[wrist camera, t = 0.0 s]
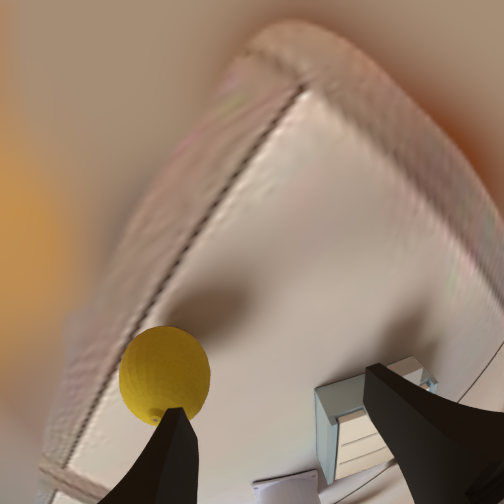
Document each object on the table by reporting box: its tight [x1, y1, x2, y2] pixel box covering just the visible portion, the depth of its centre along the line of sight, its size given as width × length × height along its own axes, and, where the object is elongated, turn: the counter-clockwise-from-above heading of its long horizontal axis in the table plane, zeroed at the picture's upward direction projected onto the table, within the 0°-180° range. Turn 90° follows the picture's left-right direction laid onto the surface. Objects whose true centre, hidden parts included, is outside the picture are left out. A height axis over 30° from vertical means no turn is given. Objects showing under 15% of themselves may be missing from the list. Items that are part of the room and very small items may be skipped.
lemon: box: [119, 326, 210, 426], centre depth 16 cm, size 6×6×8 cm
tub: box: [315, 356, 438, 485], centre depth 22 cm, size 11×10×5 cm
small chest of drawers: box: [334, 356, 429, 480], centre depth 19 cm, size 14×8×2 cm, turn 9°
